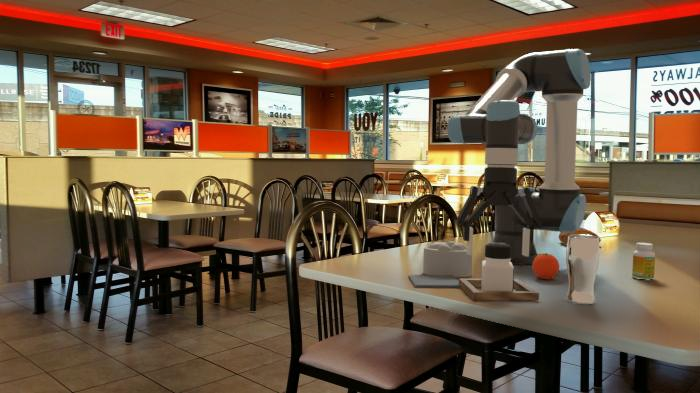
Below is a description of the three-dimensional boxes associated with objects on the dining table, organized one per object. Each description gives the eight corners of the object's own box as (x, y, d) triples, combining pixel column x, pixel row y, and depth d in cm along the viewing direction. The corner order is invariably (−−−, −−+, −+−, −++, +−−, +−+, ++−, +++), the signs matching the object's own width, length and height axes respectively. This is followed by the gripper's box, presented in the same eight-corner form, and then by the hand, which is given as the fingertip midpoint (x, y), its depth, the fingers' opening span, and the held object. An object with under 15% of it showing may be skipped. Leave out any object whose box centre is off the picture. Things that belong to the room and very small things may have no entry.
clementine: (523, 276, 158) (524, 251, 157) (543, 274, 160) (544, 249, 160) (544, 282, 150) (545, 255, 150) (564, 280, 153) (565, 254, 153)
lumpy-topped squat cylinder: (431, 268, 168) (431, 239, 167) (475, 272, 163) (476, 242, 162) (420, 274, 159) (421, 243, 158) (466, 279, 153) (467, 247, 152)
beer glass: (558, 297, 134) (561, 234, 133) (587, 297, 134) (590, 234, 133) (572, 305, 127) (575, 238, 126) (603, 305, 127) (606, 238, 126)
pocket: (517, 285, 145) (517, 278, 145) (538, 300, 131) (538, 292, 130) (458, 285, 145) (459, 278, 145) (473, 300, 130) (473, 292, 130)
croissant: (562, 253, 213) (563, 232, 211) (555, 241, 228) (556, 222, 226) (603, 253, 210) (605, 232, 209) (593, 242, 225) (594, 222, 224)
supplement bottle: (645, 281, 154) (647, 245, 153) (627, 277, 158) (629, 242, 158) (658, 279, 156) (660, 244, 156) (640, 276, 161) (642, 241, 160)
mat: (452, 277, 154) (452, 275, 154) (463, 287, 142) (463, 285, 142) (408, 277, 154) (408, 275, 154) (415, 287, 142) (415, 285, 142)
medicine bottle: (513, 297, 134) (514, 246, 133) (481, 295, 135) (483, 245, 134) (510, 290, 141) (512, 242, 140) (481, 288, 142) (482, 240, 141)
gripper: (546, 167, 140) (542, 253, 141) (445, 165, 139) (442, 251, 140) (558, 167, 132) (554, 258, 134) (452, 165, 132) (449, 256, 133)
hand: (497, 255), depth 137 cm, fingers open, 13 cm apart
